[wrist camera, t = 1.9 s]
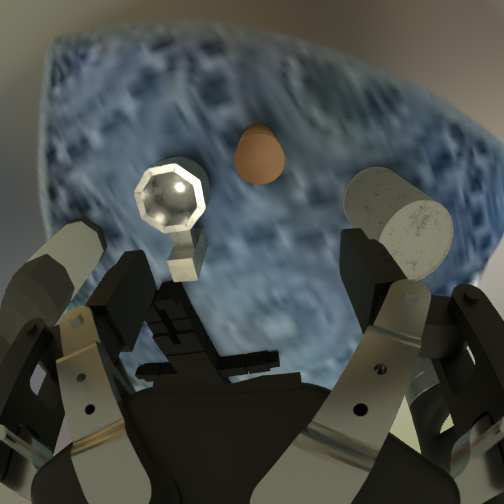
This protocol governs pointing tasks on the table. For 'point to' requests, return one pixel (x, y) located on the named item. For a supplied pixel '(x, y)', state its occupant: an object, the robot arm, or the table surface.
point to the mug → (177, 211)
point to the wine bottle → (50, 279)
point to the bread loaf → (259, 155)
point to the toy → (192, 343)
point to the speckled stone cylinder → (399, 219)
